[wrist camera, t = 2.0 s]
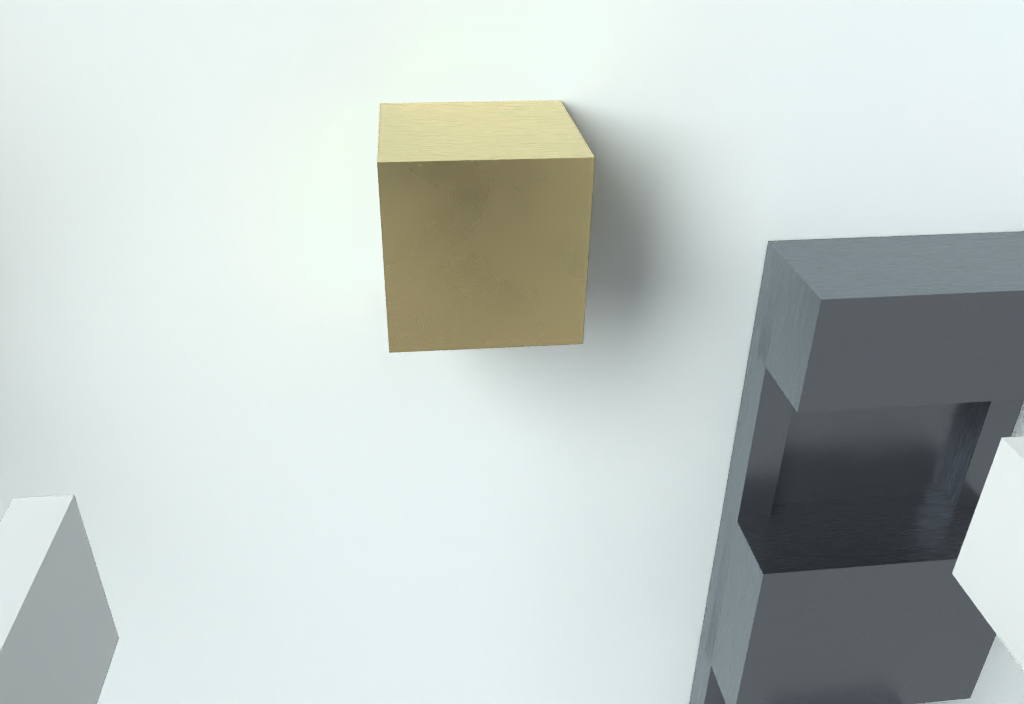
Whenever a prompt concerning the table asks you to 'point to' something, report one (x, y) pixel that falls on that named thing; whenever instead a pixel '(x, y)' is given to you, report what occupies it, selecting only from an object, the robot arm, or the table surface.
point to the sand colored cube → (483, 224)
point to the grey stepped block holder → (863, 471)
